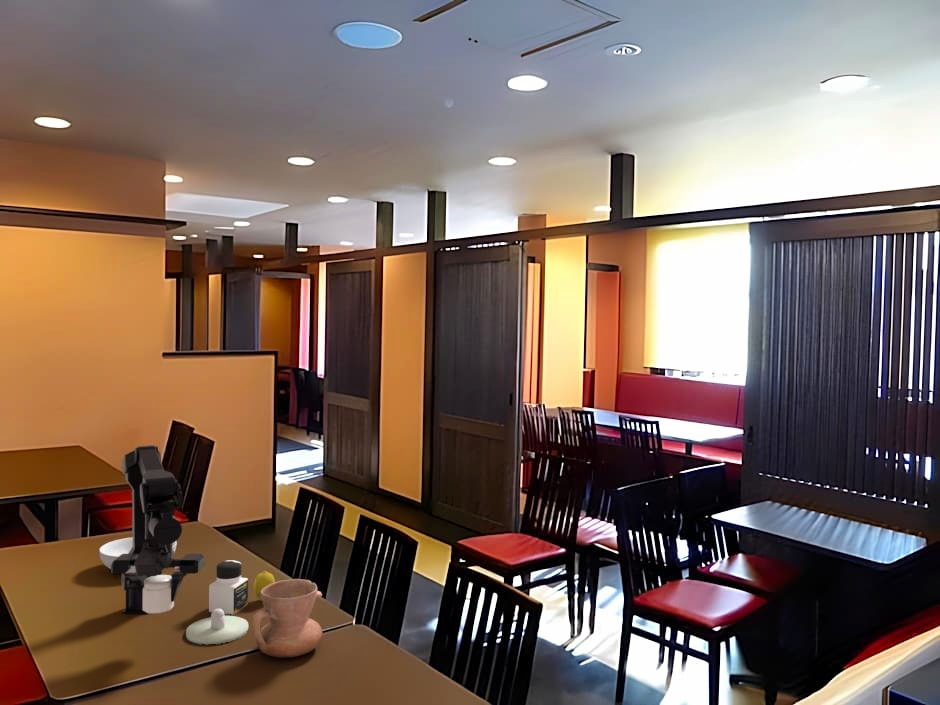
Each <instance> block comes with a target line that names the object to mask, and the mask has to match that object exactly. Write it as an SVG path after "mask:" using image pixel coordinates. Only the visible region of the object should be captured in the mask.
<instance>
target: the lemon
mask: <svg viewBox="0 0 940 705" xmlns="http://www.w3.org/2000/svg"><path fill="white" fill-rule="evenodd" d="M275 582H276V580H275V577H274V575H273V573H270V572H268V571H266V570H263V571H262V572H260V573H259V574H258V575H256V577H255V578H254V582H253V591H254V592H253V593H254V595H255V597H257V598H258V599H260V600H262V597H261V590H262V589H263V588H264V587H266V586H268V585H270V584H272V583H275Z"/></svg>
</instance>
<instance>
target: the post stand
mask: <svg viewBox="0 0 940 705" xmlns="http://www.w3.org/2000/svg"><path fill="white" fill-rule="evenodd" d="M210 615H211V616H210V617H205V618H202V619H199V620H197V621H194V622H193V623H191V624H189V626H187V628H186V630H185V637H186V639H187V641H189V642H191V643H193V644H197V645H202V644H205V645H207V646H211V645H210V644H216V645H222V644H221V643H223V644H227V643H226V642H228V643H231V642H234V641H237V640H239V639H241V638H243V637H244V636H245V635H246V634H247V633H248V632H247V631H249V622H248V620H247V619H245V618H242V617H239V616H235V615H226V614H224V611H223V610H222V609H215V610H214V611H213V612H211V614H210ZM242 636H243V637H242ZM238 638H239V639H238ZM236 639H237V640H236ZM233 640H234V641H233ZM208 644H209V645H208ZM205 645H204V646H205Z"/></svg>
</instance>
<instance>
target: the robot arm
mask: <svg viewBox="0 0 940 705" xmlns="http://www.w3.org/2000/svg"><path fill="white" fill-rule="evenodd" d="M121 468H122V474H124V475H125V476H124V477H125V481H126V482H127V483H128V485H129V486H130V488H131V490H132V491H131V497H132V498H131V499H132V500H131V504H132V506H131V508H132V511H131V514H132V521H131V522H132V523H131V524H132V526H131V528H132V531H131V533H132V536H131V537H132V538H133V546H132V548H131V550H130V552H129V553H128V554H122V555H120V556H119V557H118V558H116V559H115V560H114V561H113V562H112V565H111V569H110V572H111V573H110V574H112V575H113V574H114V575H115V574H116V575H117V574H118V575H121V576H120V579H121V580H120V581H121V582H120V584H121V587H122V589H123V591H125V608H124V609H122V614H148V613H147V612H145V611H143V587H144V580H145V579H146V578H148V577H151V576H157V575H163V570H164V569H165V570H166V569H171V568H173V569H174V570H175V571H174V572H172V574H171V575H170V576H172V591H171V601H172V602H173V601H174V602H175V600H176V597H177V596H178V592H179V589H180V587H181V584H182V582H183V580H184V578H185V577H187V576H188V574H198V573H199V572H200V571H201V570H202V568H203V567H205V564H206V560H205V559H206V558H205V556H204V555H203V553H186V554H185V555H184V556H183V557H182V558H174V556H175V553H174V551H173V543H174V542H175V541H176V542H177V540H179V538H180V537H181V535H182V531H183V527H182V524H181V523H180V521H179V520H178V518H177V517H176V516H175V511H176V510H182V505H183V503H184V502H183V501H184V499H183V493H182V492H183V491H182V489H181V485H180V483H179V481H178V480H177V479H176V477H175V476H174V474H173V473H172V472H170V471H167V470H165V469H164V466H163V464H162V453H161V452H160V450H159V447H158V446H157V445H156V446H155V445H143V446H142V445H140V446H137V447H134V449H133V450H132V451H130V452H128V453H126V454H124V456H123V460H122V466H121Z"/></svg>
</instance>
